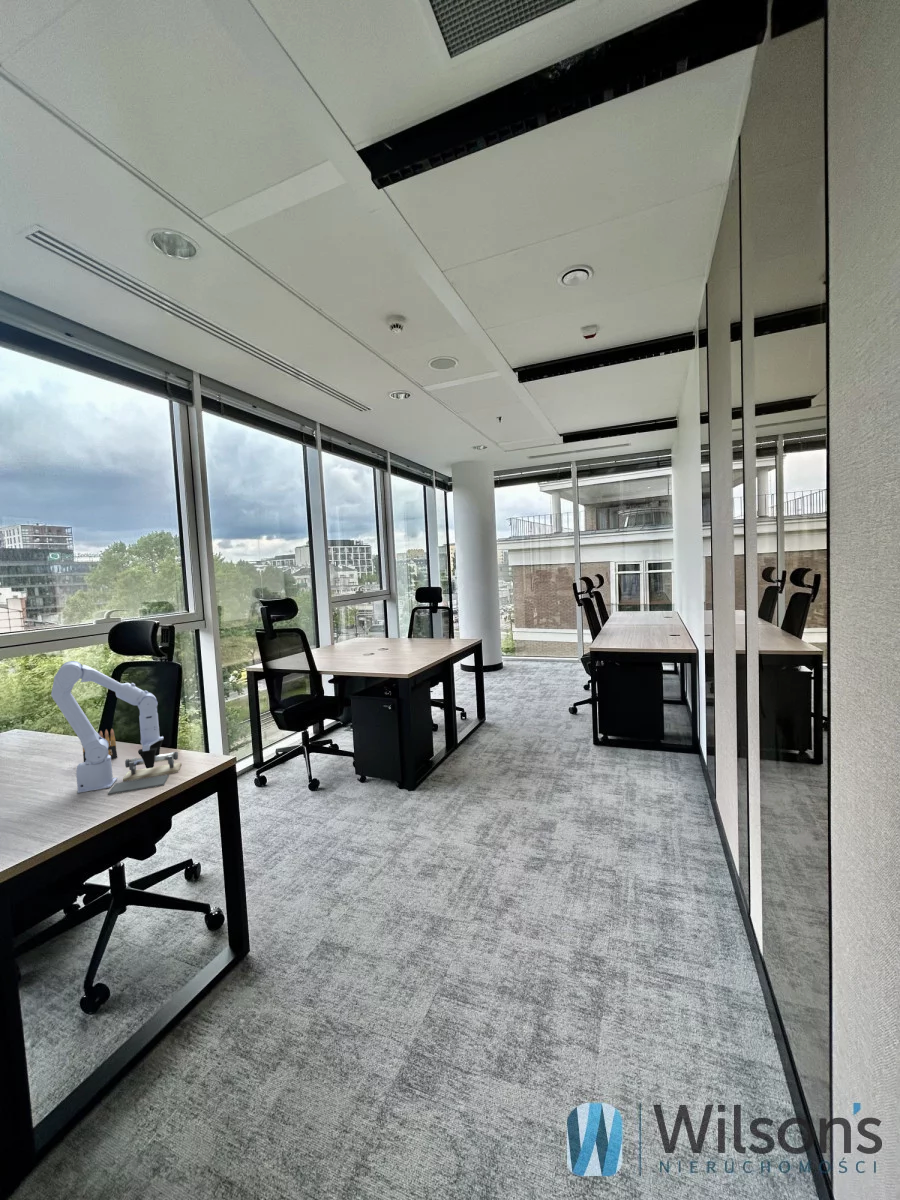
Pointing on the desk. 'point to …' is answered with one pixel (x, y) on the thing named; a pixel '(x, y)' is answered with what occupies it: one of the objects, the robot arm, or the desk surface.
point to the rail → (157, 759)
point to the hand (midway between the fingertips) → (152, 763)
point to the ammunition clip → (111, 747)
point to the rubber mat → (138, 784)
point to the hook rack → (151, 770)
